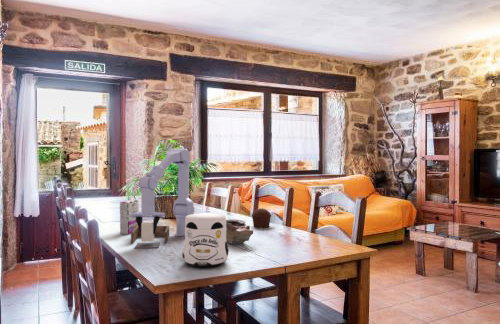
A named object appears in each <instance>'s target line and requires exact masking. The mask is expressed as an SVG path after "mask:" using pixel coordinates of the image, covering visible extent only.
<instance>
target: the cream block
mask: <svg viewBox="0 0 500 324" xmlns="http://www.w3.org/2000/svg"><path fill="white" fill-rule="evenodd" d="M153 229H154V221H153V220H152V221H151V220H149V221H147V220H146V221H142V223H141V237H140V238H141V239H140V240H141V242H140V243H146V242H154V241H155V236H154V234H153Z"/></svg>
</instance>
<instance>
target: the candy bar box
mask: <svg viewBox="0 0 500 324" xmlns="http://www.w3.org/2000/svg"><path fill="white" fill-rule="evenodd" d="M131 213H139V199H127V200H124V201H121V202H119V228H120V229H119V230H120V231H119V233H120V235H131V232H132V231H133V230H134V229H135V227H136V226H138V224H137V222H136V218H131Z"/></svg>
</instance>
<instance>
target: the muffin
mask: <svg viewBox="0 0 500 324" xmlns="http://www.w3.org/2000/svg"><path fill="white" fill-rule="evenodd" d="M251 218H252V224H253V228H257V229H268V228H270V224H271V218H272V214H271V212H270V211H269V210H268V209H265V208H256V209H255V210H254V211H253V212H252V214H251Z"/></svg>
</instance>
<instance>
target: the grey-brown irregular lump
mask: <svg viewBox="0 0 500 324" xmlns="http://www.w3.org/2000/svg"><path fill="white" fill-rule="evenodd" d="M252 235H254V230H253V229H251V227H250V225H248V224H246V221H245V220H241V219H226V241H227V243H230V244H242V243H245V242H248V241H249V240H250V238H251V236H252Z"/></svg>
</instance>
